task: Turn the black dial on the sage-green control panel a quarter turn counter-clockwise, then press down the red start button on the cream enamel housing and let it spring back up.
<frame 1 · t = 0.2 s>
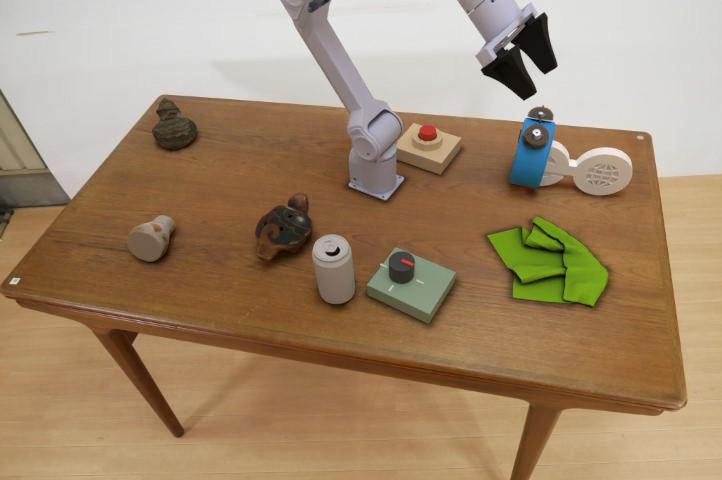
hand: (541, 83, 68), 31 cm above the table, tool tilted 45°, fingers open, 7 cm apart
cloth: (544, 260, 88), on the table
white double disc plate: (564, 187, 100), on the table, touching alarm clock
alarm clock: (523, 179, 102), on the table, touching white double disc plate
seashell: (176, 144, 115), on the table
beverage can: (337, 292, 86), on the table
dial panel: (411, 288, 85), on the table
button housing: (426, 153, 109), on the table
decorative turtle: (288, 243, 94), on the table
beige ceramic vase: (159, 245, 95), on the table
dial: (401, 267, 82), point 5 cm above the table, hinge at 0.0°
start button: (427, 133, 104), point 5 cm above the table, slide at 0.1 cm
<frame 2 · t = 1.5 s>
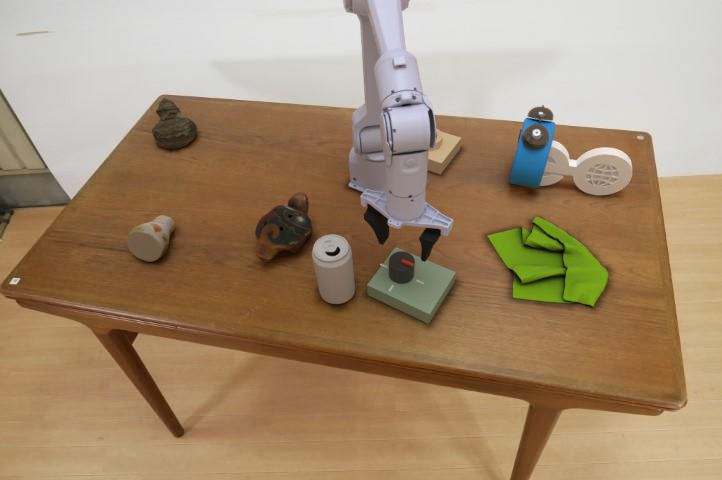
hand: (404, 248, 78), 10 cm above the table, tool pointing down, fingers open, 7 cm apart
nothing on the table moved.
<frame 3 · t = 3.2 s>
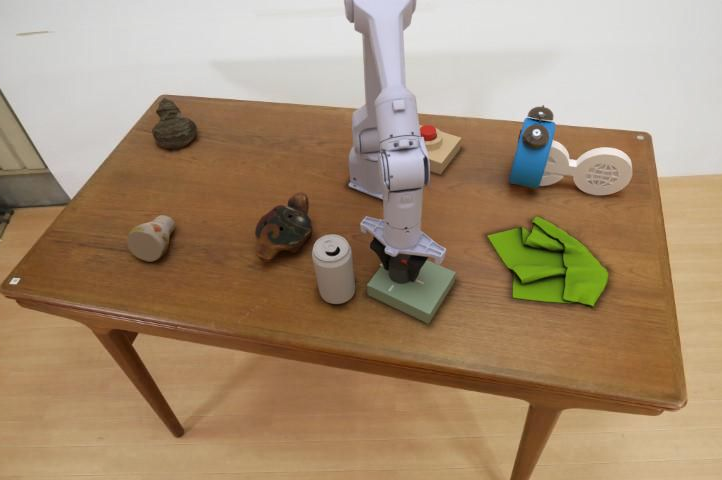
hand: (401, 271, 83), 4 cm above the table, tool pointing down, fingers closed on dial, 4 cm apart
dial: (401, 267, 82), point 5 cm above the table, hinge at -0.2°, touching gripper
everything else where it was.
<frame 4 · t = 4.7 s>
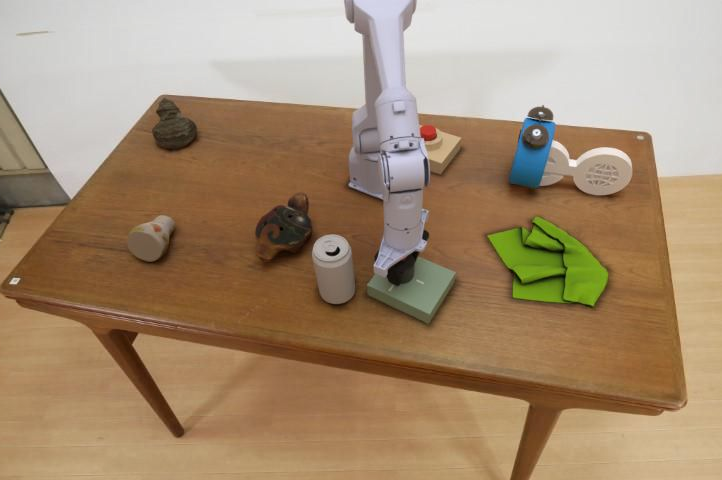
hand: (401, 272, 83), 3 cm above the table, tool pointing down, fingers closed on dial, 4 cm apart
dial: (401, 267, 82), point 5 cm above the table, hinge at 90.2°, touching gripper
everything else where it was.
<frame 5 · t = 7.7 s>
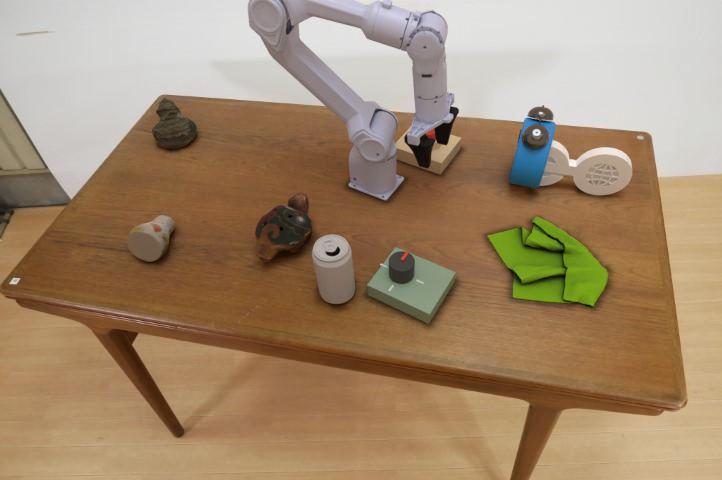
hand: (433, 154, 94), 9 cm above the table, tool pointing down, fingers open, 7 cm apart
dial: (401, 267, 82), point 5 cm above the table, hinge at 90.6°
everything else where it was.
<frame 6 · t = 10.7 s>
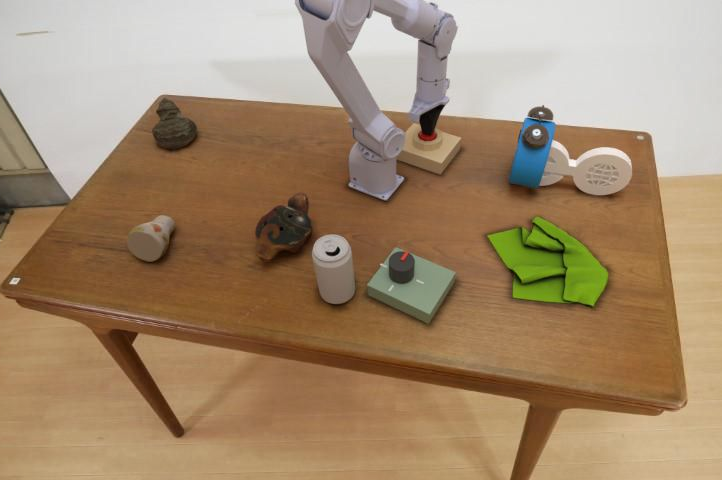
hand: (427, 133, 104), 6 cm above the table, tool pointing down, fingers closed, pressing on start button
start button: (427, 136, 105), point 5 cm above the table, slide at -0.7 cm, touching gripper
everything else where it was.
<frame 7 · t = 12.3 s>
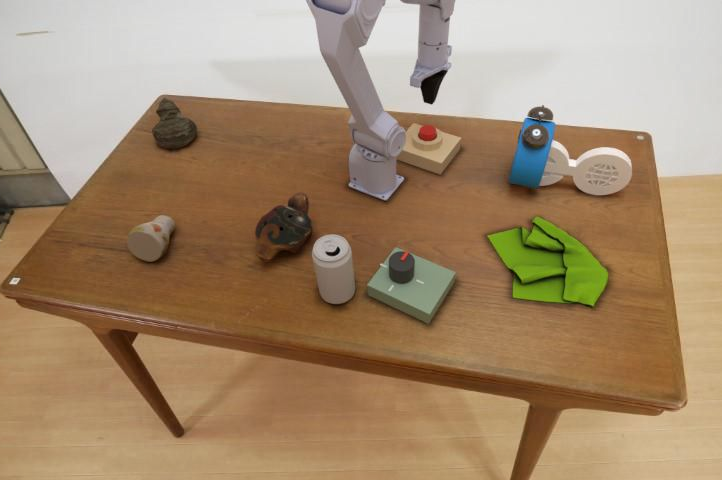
hand: (429, 101, 103), 10 cm above the table, tool pointing down, fingers closed
start button: (427, 133, 104), point 5 cm above the table, slide at 0.1 cm
everything else where it was.
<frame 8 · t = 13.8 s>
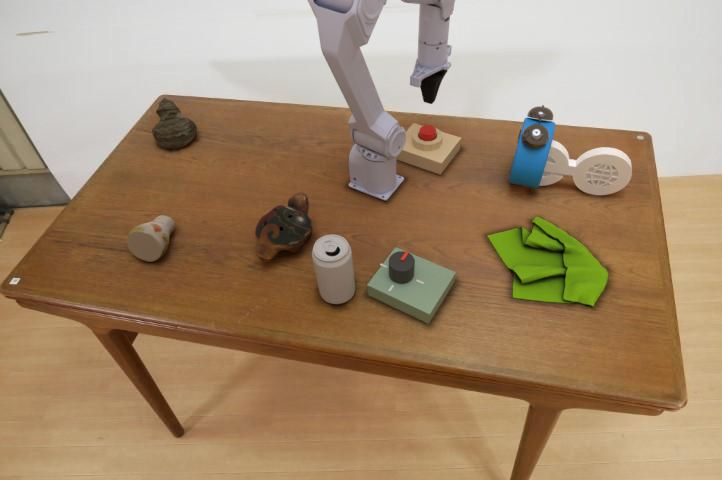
hand: (429, 101, 103), 10 cm above the table, tool pointing down, fingers closed
nothing on the table moved.
at the end: dial at +91° (first picture: +0°); start button pushed in 1.2 cm at the most during the clip, back to where it started at the end; start button slide at 0.1 cm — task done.
